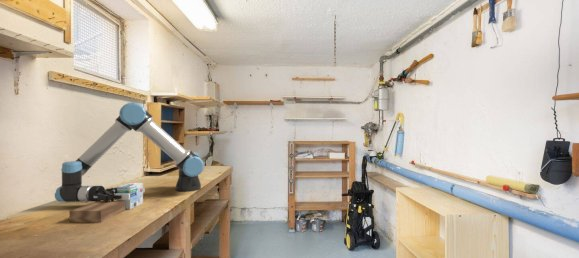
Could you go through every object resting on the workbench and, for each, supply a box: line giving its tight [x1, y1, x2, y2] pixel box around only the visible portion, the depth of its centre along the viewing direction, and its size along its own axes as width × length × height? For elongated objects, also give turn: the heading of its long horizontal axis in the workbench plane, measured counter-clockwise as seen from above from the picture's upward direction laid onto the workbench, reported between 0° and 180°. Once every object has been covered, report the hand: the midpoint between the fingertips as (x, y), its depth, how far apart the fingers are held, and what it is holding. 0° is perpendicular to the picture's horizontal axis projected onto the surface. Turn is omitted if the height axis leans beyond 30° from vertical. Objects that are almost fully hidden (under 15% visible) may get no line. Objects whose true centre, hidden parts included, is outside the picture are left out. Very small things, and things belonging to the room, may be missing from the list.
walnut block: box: [69, 200, 126, 223], centre depth 114 cm, size 13×15×5 cm
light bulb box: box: [116, 182, 144, 210], centre depth 128 cm, size 11×7×11 cm, turn 179°
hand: (137, 193), depth 129 cm, fingers open, 13 cm apart
